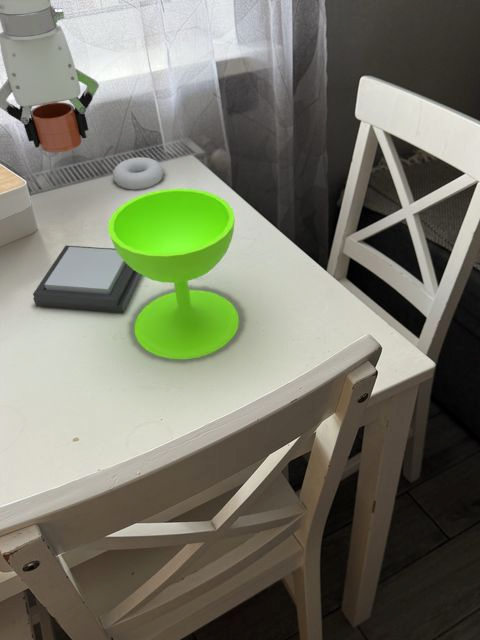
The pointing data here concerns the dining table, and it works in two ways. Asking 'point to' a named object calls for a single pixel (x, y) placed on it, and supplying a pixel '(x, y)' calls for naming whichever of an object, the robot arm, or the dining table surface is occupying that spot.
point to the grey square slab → (87, 271)
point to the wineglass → (178, 268)
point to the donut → (138, 173)
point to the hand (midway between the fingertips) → (59, 138)
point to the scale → (89, 300)
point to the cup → (56, 127)
